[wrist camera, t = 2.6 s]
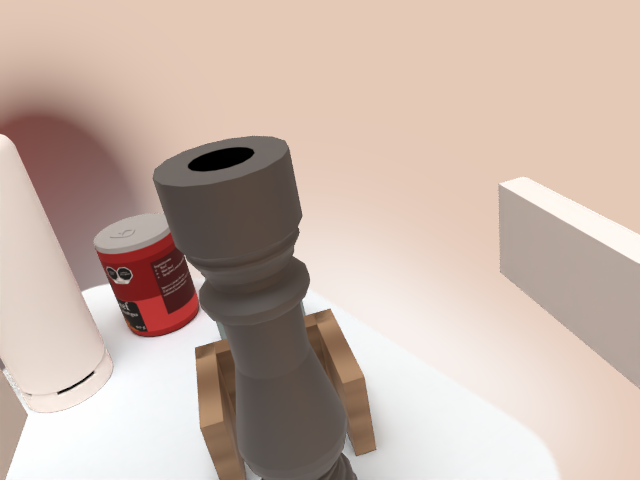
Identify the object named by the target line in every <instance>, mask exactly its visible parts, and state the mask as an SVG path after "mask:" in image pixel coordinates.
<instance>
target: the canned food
mask: <svg viewBox="0 0 640 480" xmlns="http://www.w3.org/2000/svg"><path fill="white" fill-rule="evenodd" d="M94 245H95V249H96V251H97V254H98V256H99V259H100V261H101V264H102V266H103V268H104V271H105V273H106V276H107V278H108V280H109V283H110V285H111V287H112V290H113V292H114V294H115V297H116V299H117V301H118V304H119V306H120V309H121V311H122V313H123V316H124V318H125V320H126V323H127V325H128V326H129V328H130V329H131V330H132V331H133V332H135V333H136V334H138V335H141V336H160V335H164V334H167V333H170V332H173V331H175V330H177V329H179V328H181V327H183V326H185V325H186V324H187V323H189V322H190V321H191V320H192V319H193V318H194V316H195V315H196V314H197V311H198V297H197V294H196V291H195V288H194V285H193V281H192V278H191V275H190V272H189V269H188V266H187V263H186V260H185V257H184V254H183V253H182V252H181V251H180V250H179V249H177V248H176V247H175V244H174V241H173V238H172V235H171V232H170V229H169V226H168V223H167V220H166V217H165V214H157V213H152V214H143V215H137V216H133V217H130V218H126V219H124V220H121V221H118V222H116V223H114V224H112V225H110V226H108V227H106V228H105V229H103V230H102V231H101V232H100V233H98V234H97V235H96V237H95V238H94Z"/></svg>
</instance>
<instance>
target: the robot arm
mask: <svg viewBox="0 0 640 480" xmlns="http://www.w3.org/2000/svg"><path fill="white" fill-rule="evenodd" d="M498 185H499V237H500V272H501V273H502V274H503V275H504V276H505V277H507V278H508V279H509V280H510V281H511V282H513V283H514V284H515V285H516V286H517V287H519V288H520V289H521V290H522V291H523V292H524V293H526V294H527V295H528V296H529V297H530V298H532V299H533V300H534V301H535V302H536V303H538V304H539V305H540V306H541V307H542V308H544V309H545V310H546V311H547V312H548V313H549V314H551V315H552V316H553V317H554V318H555V319H557V320H558V321H559V322H560V323H561V324H563V325H564V326H565V327H566V328H567V329H569V330H570V331H571V332H572V333H573V334H575V335H576V336H577V337H578V338H579V339H580V340H582V341H583V342H584V343H585V344H586V345H588V346H589V347H590V348H591V349H593V350H594V351H595V352H596V353H597V354H598V355H600V356H601V357H602V358H603V359H604V360H606V361H607V362H608V363H609V364H610V365H612V366H613V367H614V368H615V369H616V370H617V371H619V372H620V373H621V374H622V375H623V376H625V377H626V378H627V379H628V380H630V381H631V382H632V383H633V384H634V385H635V386H637V387H638V388H639V389H640V235H639V234H637V233H635V232H633V231H631V230H629V229H627V228H625V227H623V226H621V225H619V224H617V223H615V222H613V221H611V220H609V219H607V218H605V217H603V216H601V215H599V214H598V213H595V212H594V211H592V210H590V209H588V208H586V207H584V206H582V205H580V204H578V203H576V202H574V201H572V200H570V199H568V198H566V197H564V196H562V195H560V194H558V193H556V192H554V191H552V190H550V189H548V188H546V187H544V186H542V185H540V184H538V183H536V182H534V181H532V180H530V179H528V178H526V177H521V178H517V179H514V180H510V181H507V182H503V183H499V184H498ZM27 416H28V414H27V413H26V411H25V409H24V408H23V406H22V404H21V402H20V401H19V399H18V397H17V396H16V394H15V392H14V391H13V389H12V387H11V386H10V384H9V382H8V381H7V379H6V377H5V375H4V374H3V372H2V370H1V369H0V480H5V479H6V476H7V473H8V470H9V467H10V464H11V462H12V459H13V456H14V453H15V450H16V447H17V444H18V442H19V439H20V436H21V433H22V430H23V427H24V425H25V422H26V419H27Z"/></svg>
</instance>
